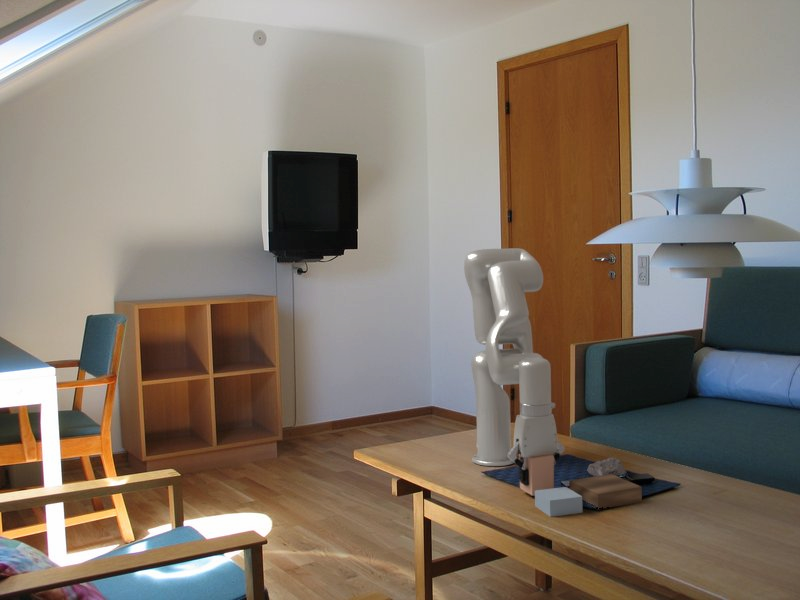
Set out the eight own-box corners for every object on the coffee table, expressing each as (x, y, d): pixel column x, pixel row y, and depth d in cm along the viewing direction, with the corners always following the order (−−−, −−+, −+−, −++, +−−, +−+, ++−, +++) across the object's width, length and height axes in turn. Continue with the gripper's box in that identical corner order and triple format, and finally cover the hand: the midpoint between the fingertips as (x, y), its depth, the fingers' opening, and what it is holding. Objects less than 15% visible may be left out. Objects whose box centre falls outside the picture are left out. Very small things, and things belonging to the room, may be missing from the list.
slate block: (535, 507, 188) (534, 490, 188) (566, 503, 190) (565, 486, 190) (550, 518, 181) (549, 500, 180) (582, 513, 183) (582, 496, 182)
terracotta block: (519, 488, 199) (519, 452, 198) (541, 484, 201) (540, 449, 200) (532, 495, 193) (531, 458, 192) (554, 492, 195) (553, 455, 194)
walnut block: (569, 496, 196) (569, 480, 196) (611, 489, 200) (611, 473, 200) (598, 511, 185) (597, 493, 184) (641, 503, 189) (641, 486, 188)
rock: (605, 482, 205) (605, 467, 205) (581, 472, 215) (581, 457, 215) (634, 478, 208) (634, 462, 208) (609, 468, 218) (609, 453, 218)
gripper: (558, 402, 202) (559, 473, 203) (496, 410, 196) (497, 482, 197) (574, 408, 195) (575, 481, 196) (511, 416, 189) (512, 491, 190)
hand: (536, 481), depth 197 cm, fingers closed on terracotta block, 6 cm apart
